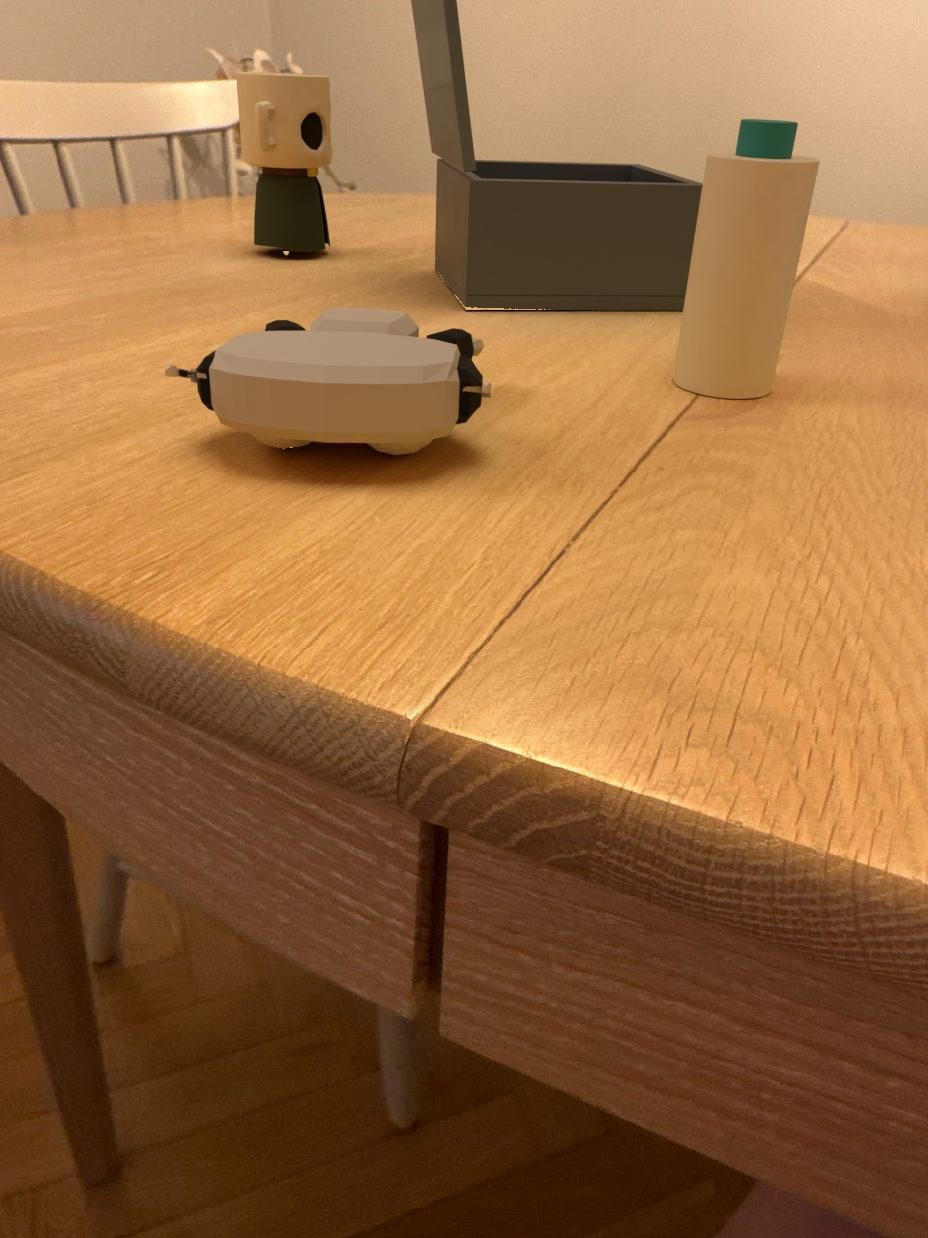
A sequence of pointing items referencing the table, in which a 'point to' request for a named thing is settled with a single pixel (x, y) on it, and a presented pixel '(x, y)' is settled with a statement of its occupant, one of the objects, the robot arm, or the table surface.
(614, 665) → the table surface
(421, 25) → the lid
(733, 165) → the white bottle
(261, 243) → the beige and green figure
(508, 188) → the dark grey open box
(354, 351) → the robot toy
